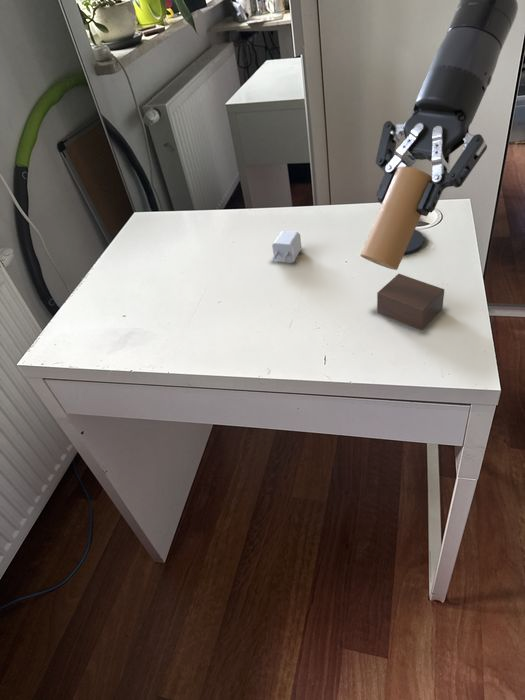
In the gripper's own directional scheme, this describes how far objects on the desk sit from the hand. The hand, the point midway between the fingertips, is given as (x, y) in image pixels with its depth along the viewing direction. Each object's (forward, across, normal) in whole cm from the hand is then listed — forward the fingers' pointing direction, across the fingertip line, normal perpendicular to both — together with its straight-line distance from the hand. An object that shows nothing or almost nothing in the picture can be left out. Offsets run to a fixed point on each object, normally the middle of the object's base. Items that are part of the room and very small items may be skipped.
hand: (401, 208), depth 68 cm
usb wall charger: (+11, -27, +17) cm, 34 cm away
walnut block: (+11, 0, +16) cm, 20 cm away
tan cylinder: (+6, 0, +4) cm, 7 cm away
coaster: (0, -13, +28) cm, 31 cm away
